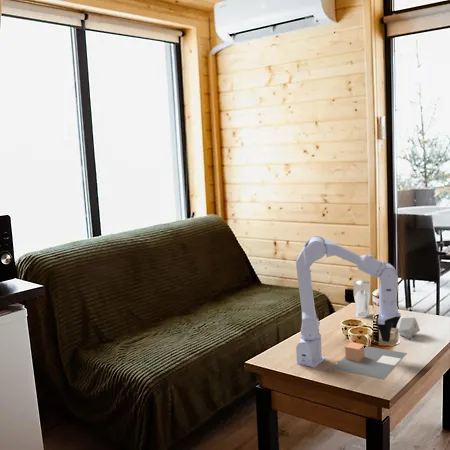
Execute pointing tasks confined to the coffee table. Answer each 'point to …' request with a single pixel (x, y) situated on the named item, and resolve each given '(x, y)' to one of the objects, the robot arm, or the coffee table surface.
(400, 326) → the die
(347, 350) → the terracotta block
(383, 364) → the build mat
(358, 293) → the beer glass
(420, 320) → the coffee table surface
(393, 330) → the birch block
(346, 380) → the coffee table surface
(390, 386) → the coffee table surface
